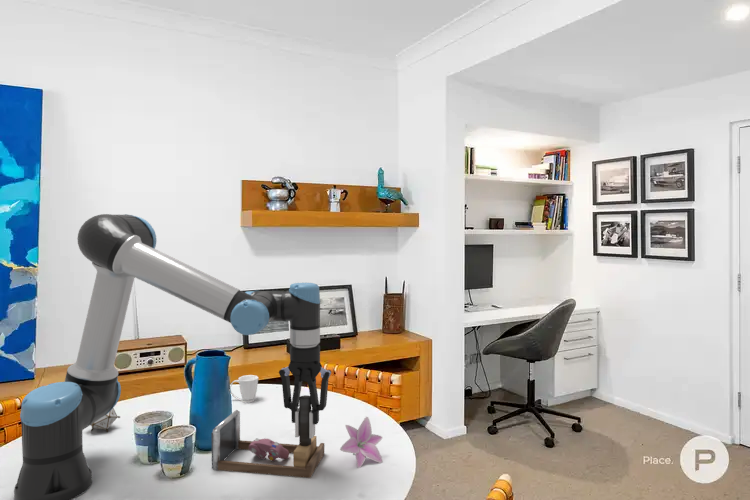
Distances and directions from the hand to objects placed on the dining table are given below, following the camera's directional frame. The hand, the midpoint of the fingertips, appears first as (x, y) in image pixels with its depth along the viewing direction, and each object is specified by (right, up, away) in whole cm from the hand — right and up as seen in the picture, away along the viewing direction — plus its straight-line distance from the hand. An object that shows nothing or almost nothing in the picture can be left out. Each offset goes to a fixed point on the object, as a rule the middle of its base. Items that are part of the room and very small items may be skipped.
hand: (305, 435), depth 130 cm
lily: (+14, -8, +3) cm, 17 cm away
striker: (0, -8, 0) cm, 8 cm away
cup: (-28, -5, +47) cm, 55 cm away
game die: (-63, -6, +22) cm, 67 cm away
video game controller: (-10, -8, +3) cm, 13 cm away
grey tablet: (-22, -7, +4) cm, 23 cm away
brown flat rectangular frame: (-9, -7, +2) cm, 12 cm away
